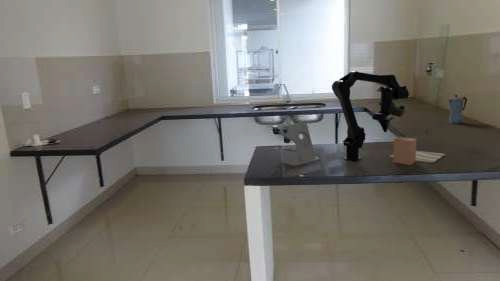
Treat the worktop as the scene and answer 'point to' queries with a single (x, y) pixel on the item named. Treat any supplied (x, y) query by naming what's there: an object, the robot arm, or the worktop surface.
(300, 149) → the phone holder
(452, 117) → the moka pot
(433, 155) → the birch board
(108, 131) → the worktop surface
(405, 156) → the terracotta block
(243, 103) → the worktop surface
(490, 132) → the worktop surface
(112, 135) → the worktop surface
